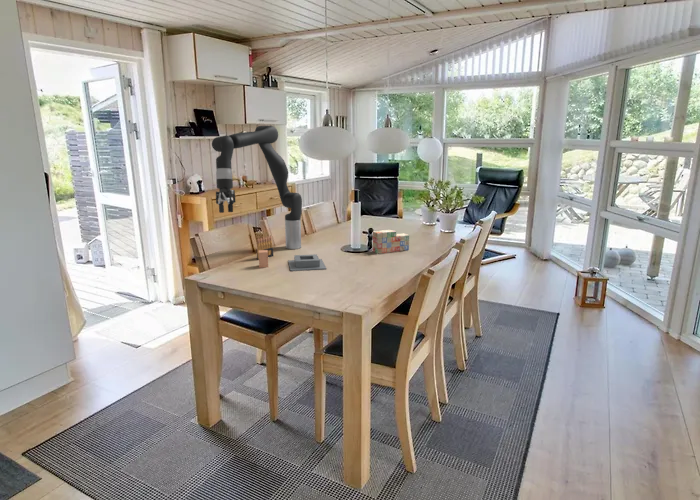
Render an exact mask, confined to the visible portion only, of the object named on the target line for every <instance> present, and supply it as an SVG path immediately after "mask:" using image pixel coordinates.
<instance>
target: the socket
mask: <svg viewBox="0 0 700 500" xmlns="http://www.w3.org/2000/svg"><path fill="white" fill-rule="evenodd" d="M287 262H288V265H289V269H290V272H297V271H299V272H300V271H303V272H304V271H317V270H318V271H319V270H322V271H323V270H327V266H326V265H325V263H324V261H323V258H319V255H318V254H316V253H313V254H297V255H296V254H295V255H293V259H292V260H288V261H287Z"/></svg>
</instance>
